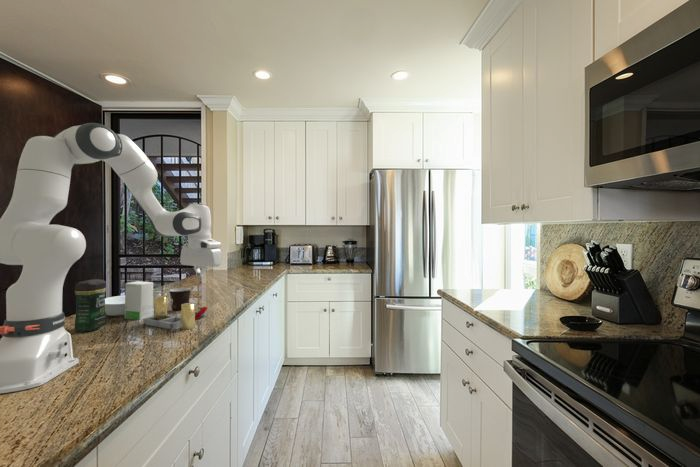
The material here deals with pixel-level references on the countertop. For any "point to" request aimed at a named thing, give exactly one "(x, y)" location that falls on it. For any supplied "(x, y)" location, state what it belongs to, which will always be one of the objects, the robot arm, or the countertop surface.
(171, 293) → the coffee mug
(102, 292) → the coffee jar
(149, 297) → the skincare box
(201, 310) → the strawberry
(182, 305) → the billet
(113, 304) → the serving bowl
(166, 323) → the grey tray
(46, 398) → the countertop surface
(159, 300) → the billet
